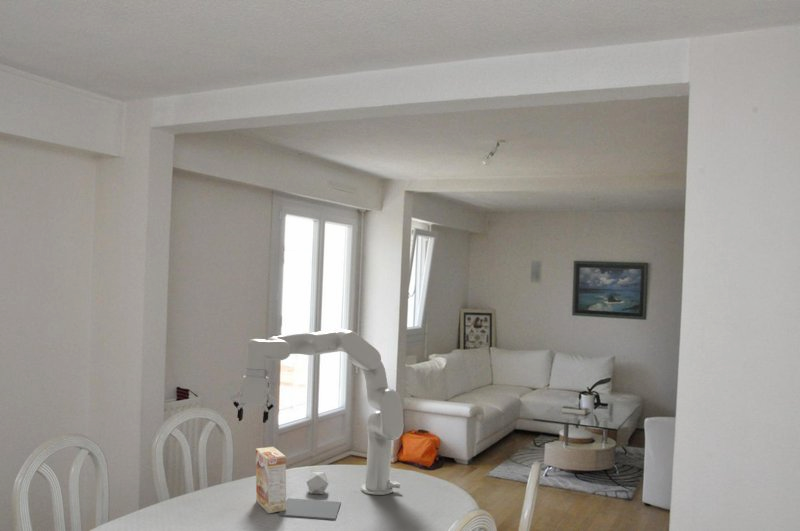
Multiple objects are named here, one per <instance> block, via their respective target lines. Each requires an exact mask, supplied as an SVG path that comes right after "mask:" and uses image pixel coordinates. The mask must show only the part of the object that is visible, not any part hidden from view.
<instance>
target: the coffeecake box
mask: <svg viewBox="0 0 800 531" xmlns="http://www.w3.org/2000/svg"><path fill="white" fill-rule="evenodd" d="M286 459H287V456H286V455H285V454H284V453H282V452H281V451H280V450H278V449H277V448H275V446H268V447H257V448H255V475H256V476H255V478H256V479H255V480H256V481H255V482H256V483H255V484H256V486H255V487H256V500H255V501H256V502H257V504H258V505H260V506H261V507H262V508H263V510H265V511H266V513H268V514H271V513H272V514H273V513H277V512H278V513H279V512H280V511H284V510H286V500H287V464H286V463H287V460H286Z"/></svg>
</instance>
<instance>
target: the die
mask: <svg viewBox="0 0 800 531" xmlns="http://www.w3.org/2000/svg"><path fill="white" fill-rule="evenodd" d="M306 484H307V489H308V490H309V494H313V495H314V494H315V495H324V493H325V491H326V490H327V487H328V485H329V482H328V477H327V475H326V472H324V471H311V473H310V475H309V476H308V479H307V481H306Z"/></svg>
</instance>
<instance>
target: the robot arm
mask: <svg viewBox="0 0 800 531" xmlns="http://www.w3.org/2000/svg"><path fill="white" fill-rule="evenodd" d="M246 350H247V351H246V360H245V361H246V363H245V372H244V373H245V374H244V375H243V377H242V382H241V386H240V391H239V392H238V393H236V394H234V395H232V396H231V397H230V401H232V403H233V406H234V407H236V410H237V416H236V417H237V419H238V422H241V421H242V420H243V419H244V418H243V417H244V409H243V407H244V405H247V406H248V405H249V406H261V407H263V408H262V409H264V411H263V413H262V414H263V415H262V423H263V424H265V423H266V422H267V421H268V420H269V414H270V412H269V411H270V410H272V408H274V407H275V406H276V404H277V402H278V399H277V398H275V397H274V396H272V394H270V378H269V377H268V376H269V375H270V376H271V370H268V360H275V361H284V360H286V359H288V358H289V357H290V355H296V354H297V355H303V356H304V355H305V356H318V355H323V354H330V353H331V354H332V353H339V352H343V353H346V354H347V355H348V358H349V360H350V362H351V364H352V365H353V366H355V367H358V368H360V370H361V371H362V373H363V375H364V379H365V388H366V395H367V396H366V397H367V403H368V405H369V406H370V407H371V408H373V409H375V411H374V412H371V413H370V414H369V416H368V419H367V422H366V429H367V430H366V431H367V452H366V453H367V454H366V468H365V472H366V473H365V483H364V484H362V485H361V487H360V489H361V491H362V492H363V493H365V494H369V495H372V496H373V495H374V496H385V495H390V494H392V493H393V490H394V489H401V483H399V482H398V481H392V480H391V477H390V476H391V472H390V471H391V462H392V460H391V459H392V442H393V441H397V440H398V439H400V438H401V436H402V434H403V432H404V426H405V425H404V416H403V415H404V414H403V413H404V412H403V406H402V400H401V397H400V395H399V393H398V392H397V391H396V390H395V389H393V388H390V387H389V384H388V378H387V372H386V368H385V366H384V364H383V361H382V357H381V353H380V352H379V350H378V349H376V348H375V347H374V345H372V344H370V343H369V342H368V341H367V340H365V339H364V338H363V337H362V336H360V334H358V333H356V332H355V331H353V330H349V329H344V328H340V329H339V328H338V329H332V330H331V329H330V330H324V331H316V332H310V333H309V332H307V333H306V332H305V333H295V334H286V335H278V336H272V337H268V338H266V339H263V338H252V339H249V340H248V341H247V349H246ZM237 398H239V402H238V401H237ZM269 401H271V403H270V405H269V404H268V403H269Z"/></svg>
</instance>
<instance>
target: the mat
mask: <svg viewBox="0 0 800 531" xmlns="http://www.w3.org/2000/svg"><path fill="white" fill-rule="evenodd" d="M341 503H342V502H341V501H333V500H332V501H331V500H321V499H320V500H318V499H307V498H306V499H304V498H290V497H288V498H286V510H284V511H279V512H278V517H287V518H300V519H301V518H302V519H313V520H314V519H315V520H327V521H328V520H329V521H336V519H337V516H338V513H339V510H340V508H341Z"/></svg>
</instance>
